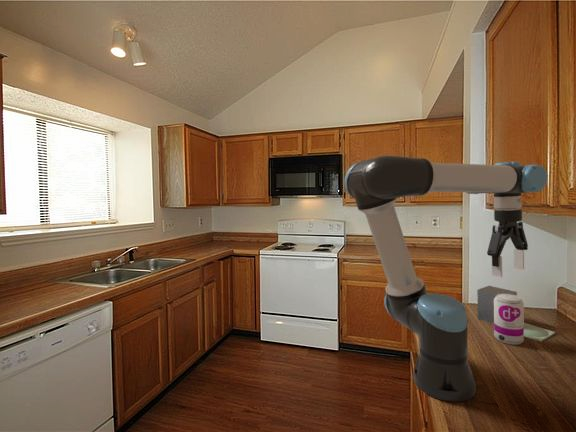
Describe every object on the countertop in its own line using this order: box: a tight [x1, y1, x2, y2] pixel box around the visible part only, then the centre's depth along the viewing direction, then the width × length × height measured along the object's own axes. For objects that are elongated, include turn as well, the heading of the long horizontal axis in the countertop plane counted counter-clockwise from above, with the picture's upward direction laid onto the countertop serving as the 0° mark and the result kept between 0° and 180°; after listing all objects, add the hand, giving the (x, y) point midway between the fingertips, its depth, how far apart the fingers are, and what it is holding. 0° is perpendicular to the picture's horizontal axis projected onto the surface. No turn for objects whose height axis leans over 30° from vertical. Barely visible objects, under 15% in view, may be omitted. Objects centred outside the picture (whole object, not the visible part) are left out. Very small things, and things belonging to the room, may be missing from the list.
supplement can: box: [493, 294, 525, 346], centre depth 104 cm, size 8×8×15 cm
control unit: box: [476, 285, 518, 324], centre depth 119 cm, size 8×10×12 cm
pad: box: [524, 322, 556, 342], centre depth 109 cm, size 10×10×1 cm
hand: (508, 272), depth 103 cm, fingers open, 13 cm apart
